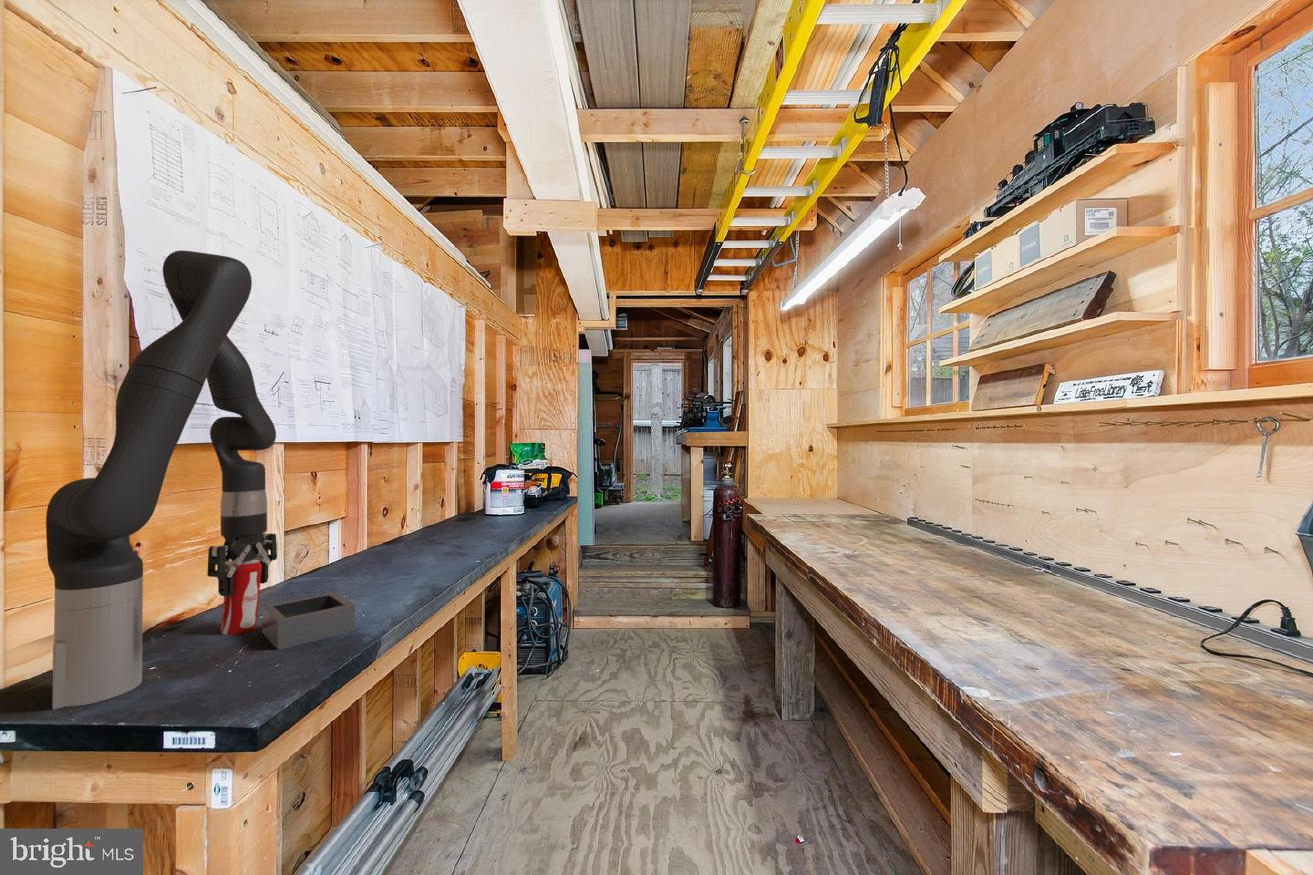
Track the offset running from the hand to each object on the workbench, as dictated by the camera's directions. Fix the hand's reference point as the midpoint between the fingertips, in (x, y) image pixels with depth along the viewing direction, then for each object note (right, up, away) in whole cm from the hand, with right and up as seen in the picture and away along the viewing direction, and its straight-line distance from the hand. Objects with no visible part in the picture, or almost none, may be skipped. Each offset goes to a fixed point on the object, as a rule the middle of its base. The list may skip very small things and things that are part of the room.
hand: (244, 588), depth 105 cm
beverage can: (0, -9, 0) cm, 9 cm away
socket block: (+14, -9, -1) cm, 17 cm away
